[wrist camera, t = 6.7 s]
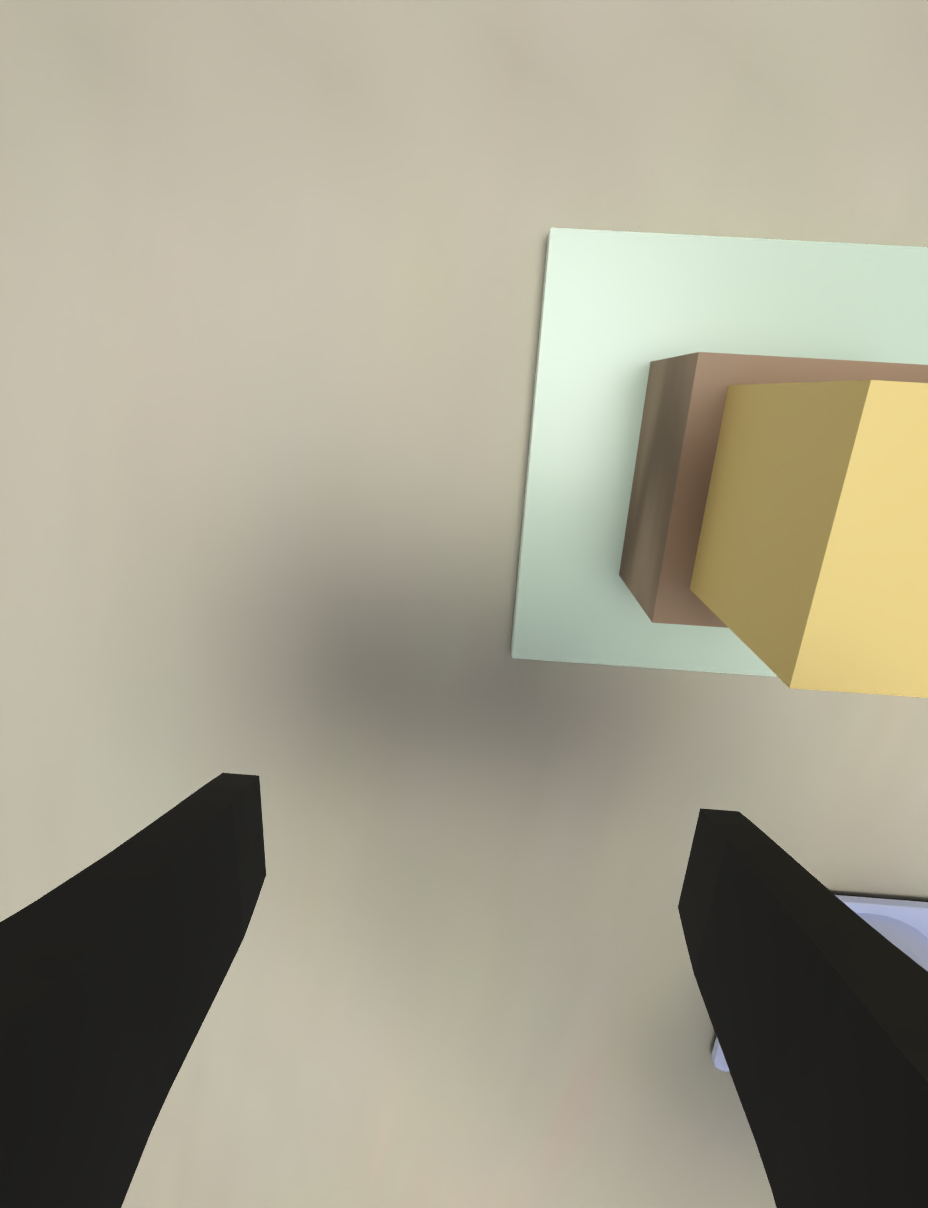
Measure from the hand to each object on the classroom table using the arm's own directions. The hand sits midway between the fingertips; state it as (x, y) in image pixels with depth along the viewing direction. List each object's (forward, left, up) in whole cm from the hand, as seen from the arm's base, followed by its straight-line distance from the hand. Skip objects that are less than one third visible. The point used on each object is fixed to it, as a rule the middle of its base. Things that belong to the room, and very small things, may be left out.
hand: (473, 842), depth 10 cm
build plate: (+5, -7, -10) cm, 13 cm away
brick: (+5, -7, -6) cm, 10 cm away
